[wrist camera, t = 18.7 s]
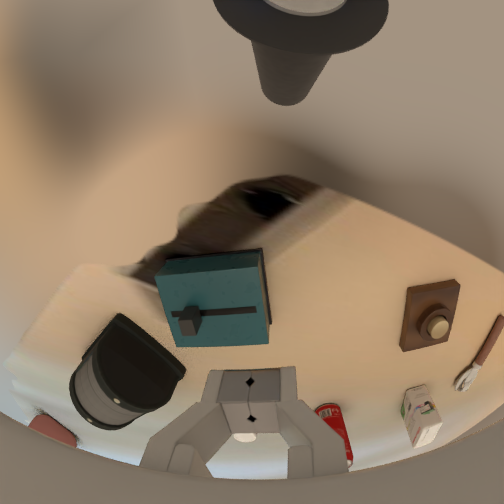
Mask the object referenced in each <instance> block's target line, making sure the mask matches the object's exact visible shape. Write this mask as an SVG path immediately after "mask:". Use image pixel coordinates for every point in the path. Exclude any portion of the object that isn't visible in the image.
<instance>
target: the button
mask: <svg viewBox="0 0 504 504" xmlns="http://www.w3.org/2000/svg"><path fill="white" fill-rule="evenodd" d="M448 327H449V324H448V322H447V321H446V320H445V318H444V317H443V316H436V317H434V318H433V319H432V320H431V321H430V322H429V324H428V326H427V330H428V332H429V333H430V335H431V336H432V338H434V339H438V338H441V337H442V336H443V335H445V333H446V332H447V330H448Z"/></svg>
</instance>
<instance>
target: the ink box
mask: <svg viewBox="0 0 504 504" xmlns="http://www.w3.org/2000/svg"><path fill="white" fill-rule="evenodd" d="M401 414H402V417H403V420H404V422H405V425H406V428H407V431H408V434H409V437H410V440H411V443H412V446H413V449H414V448H418V447H421V446H423V445H426V444H428V443H431V442H432V441H433V439H434V438H435V436H436V434H437V432H438V430H439V428H440V426H441V425H442V423H443V422H442V419H441V417H440V415H439V413H438V411H437V409H436V407H435V405H434V402H433V400H432V398H431V396H430V394H429V392H428V390H427V388H426V386H425V385H422V386H419V387H415V388H412V389H409V390H407V392H406V395H405V399H404V402H403V406H402V409H401Z"/></svg>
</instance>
